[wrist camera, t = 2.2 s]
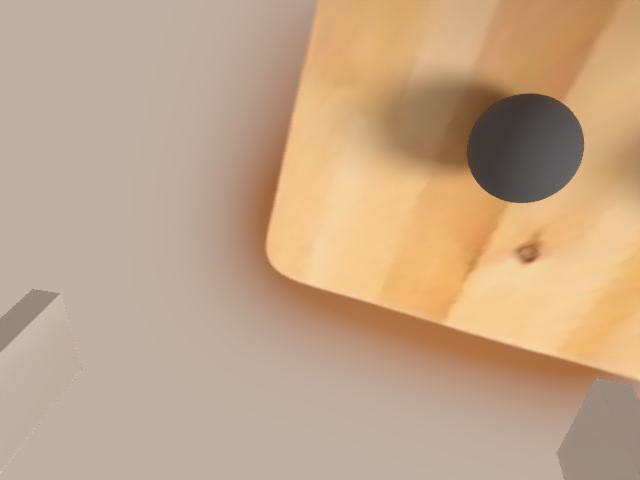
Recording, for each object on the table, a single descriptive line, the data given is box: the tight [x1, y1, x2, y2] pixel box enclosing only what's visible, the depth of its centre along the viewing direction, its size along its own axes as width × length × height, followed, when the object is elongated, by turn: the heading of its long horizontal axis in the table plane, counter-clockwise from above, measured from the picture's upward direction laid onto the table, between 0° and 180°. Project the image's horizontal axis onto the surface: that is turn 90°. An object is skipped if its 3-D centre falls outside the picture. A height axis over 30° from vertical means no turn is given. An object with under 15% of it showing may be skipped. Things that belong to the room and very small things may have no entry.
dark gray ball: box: [467, 93, 584, 203], centre depth 24 cm, size 6×6×6 cm
